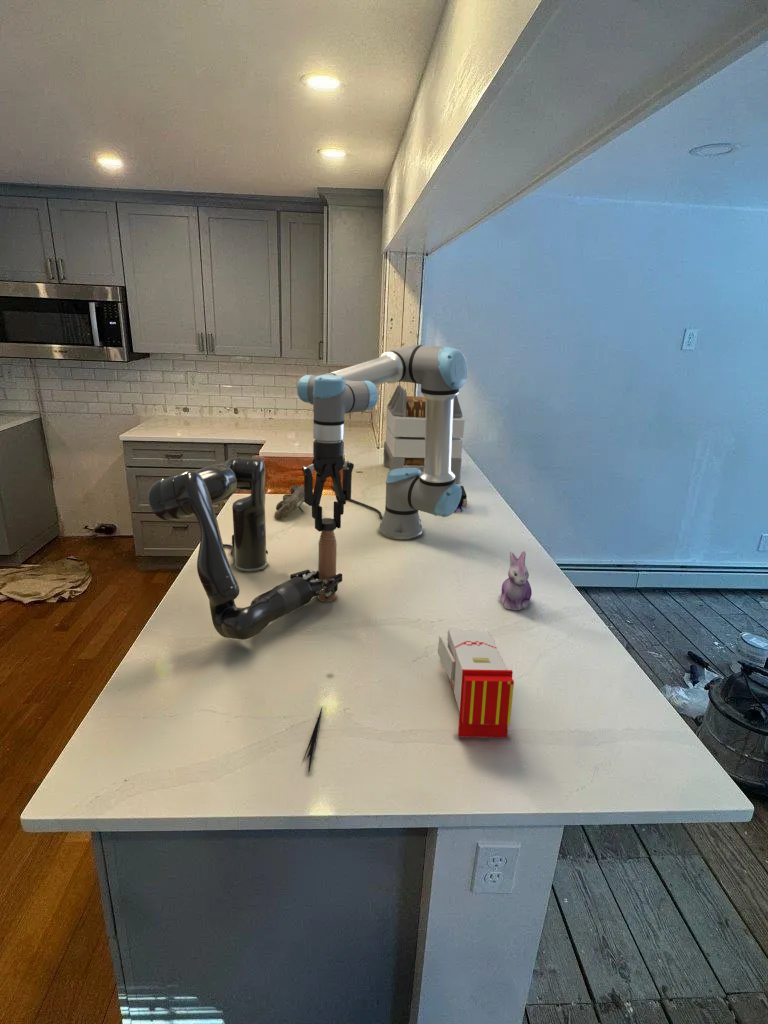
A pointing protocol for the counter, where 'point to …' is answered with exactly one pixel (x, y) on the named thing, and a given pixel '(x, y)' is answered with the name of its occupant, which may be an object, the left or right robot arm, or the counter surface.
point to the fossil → (290, 502)
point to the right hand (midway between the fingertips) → (327, 527)
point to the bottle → (327, 559)
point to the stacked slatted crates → (416, 432)
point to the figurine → (516, 584)
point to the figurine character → (462, 500)
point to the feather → (313, 740)
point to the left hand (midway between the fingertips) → (333, 573)
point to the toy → (478, 682)
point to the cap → (328, 524)
